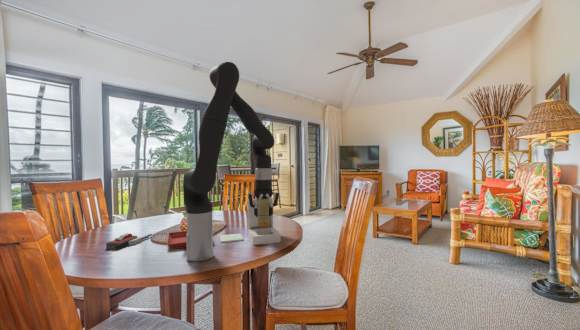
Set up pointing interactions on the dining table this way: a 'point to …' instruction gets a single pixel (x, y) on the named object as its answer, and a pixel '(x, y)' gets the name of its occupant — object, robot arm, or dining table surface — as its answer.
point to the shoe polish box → (263, 212)
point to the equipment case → (260, 229)
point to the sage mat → (231, 238)
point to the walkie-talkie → (124, 241)
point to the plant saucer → (177, 239)
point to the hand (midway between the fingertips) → (263, 216)
